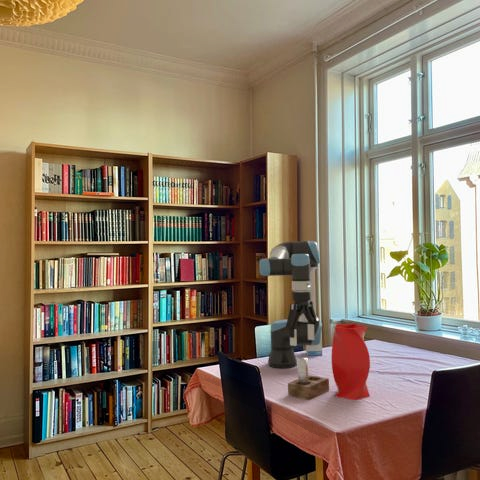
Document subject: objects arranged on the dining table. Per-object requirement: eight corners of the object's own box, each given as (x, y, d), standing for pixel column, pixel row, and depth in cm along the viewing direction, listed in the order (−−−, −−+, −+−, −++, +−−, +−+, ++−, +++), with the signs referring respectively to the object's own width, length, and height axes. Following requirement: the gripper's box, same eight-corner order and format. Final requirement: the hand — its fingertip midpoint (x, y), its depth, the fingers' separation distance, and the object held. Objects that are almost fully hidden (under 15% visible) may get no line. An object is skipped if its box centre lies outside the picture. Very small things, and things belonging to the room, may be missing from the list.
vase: (345, 401, 180) (343, 329, 181) (324, 392, 193) (323, 324, 194) (376, 396, 186) (374, 326, 187) (354, 387, 199) (352, 322, 200)
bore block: (288, 395, 190) (287, 383, 190) (308, 386, 202) (308, 374, 202) (309, 399, 183) (308, 387, 183) (329, 390, 196) (328, 378, 196)
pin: (296, 393, 189) (295, 358, 190) (302, 390, 192) (301, 356, 193) (305, 394, 187) (304, 359, 187) (310, 392, 190) (309, 358, 190)
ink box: (322, 355, 263) (321, 332, 263) (307, 355, 263) (307, 332, 263) (320, 352, 271) (319, 329, 272) (305, 352, 271) (305, 329, 272)
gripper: (292, 294, 179) (293, 349, 179) (324, 288, 198) (325, 338, 198) (276, 293, 184) (277, 346, 183) (309, 288, 203) (310, 336, 203)
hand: (302, 342), depth 191 cm, fingers open, 13 cm apart
